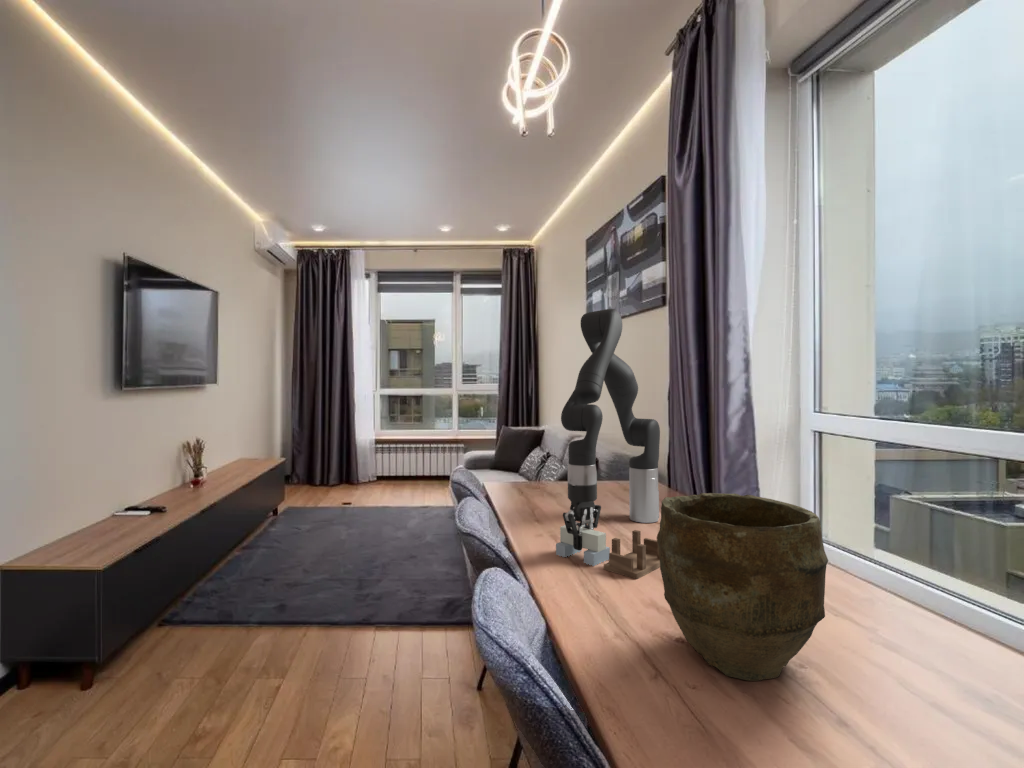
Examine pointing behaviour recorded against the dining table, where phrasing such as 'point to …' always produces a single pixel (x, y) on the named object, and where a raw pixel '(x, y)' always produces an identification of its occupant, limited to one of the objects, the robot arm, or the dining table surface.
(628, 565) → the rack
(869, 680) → the dining table surface
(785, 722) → the dining table surface
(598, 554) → the pair of grey blocks
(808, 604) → the clay pot
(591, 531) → the white rectangular block
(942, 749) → the dining table surface
